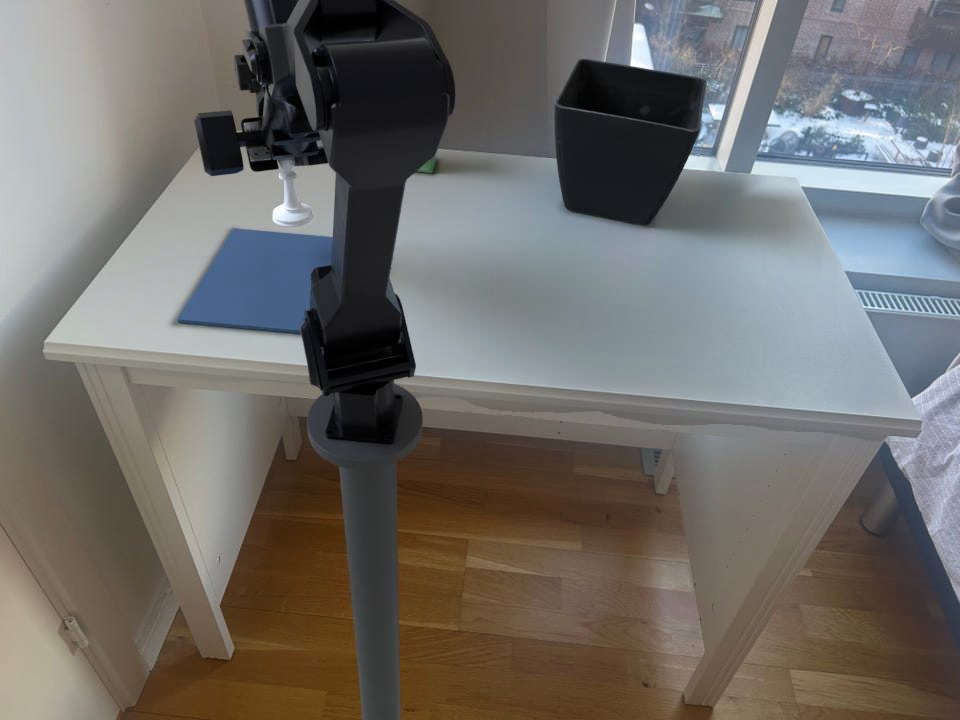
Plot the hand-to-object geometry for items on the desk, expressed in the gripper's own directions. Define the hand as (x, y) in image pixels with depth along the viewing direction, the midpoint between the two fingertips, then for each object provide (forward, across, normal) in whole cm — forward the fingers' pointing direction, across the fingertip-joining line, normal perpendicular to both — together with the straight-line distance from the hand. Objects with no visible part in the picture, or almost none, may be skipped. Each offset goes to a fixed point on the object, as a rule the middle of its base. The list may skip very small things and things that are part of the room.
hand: (284, 163), depth 88 cm
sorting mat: (+5, +4, +12) cm, 14 cm away
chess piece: (+4, 0, +6) cm, 7 cm away
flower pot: (+9, -48, +8) cm, 50 cm away
